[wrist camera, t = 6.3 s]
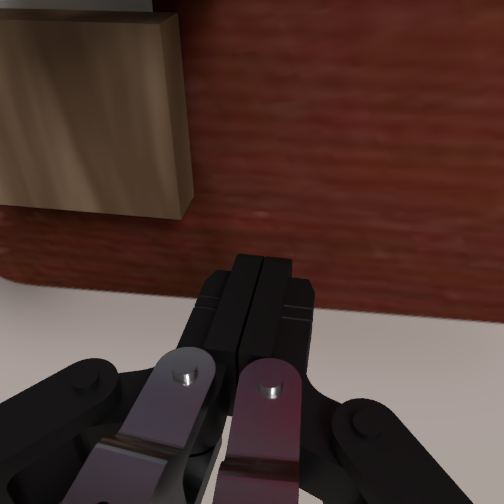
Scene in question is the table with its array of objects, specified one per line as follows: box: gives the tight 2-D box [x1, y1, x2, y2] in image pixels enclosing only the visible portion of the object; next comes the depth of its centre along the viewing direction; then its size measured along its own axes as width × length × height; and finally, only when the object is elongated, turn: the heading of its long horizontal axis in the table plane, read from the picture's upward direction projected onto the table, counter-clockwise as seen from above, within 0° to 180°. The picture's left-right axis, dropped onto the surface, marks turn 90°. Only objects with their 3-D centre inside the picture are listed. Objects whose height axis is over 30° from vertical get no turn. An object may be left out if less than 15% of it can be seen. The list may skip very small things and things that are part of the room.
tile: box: [0, 8, 194, 220], centre depth 23 cm, size 3×9×10 cm
